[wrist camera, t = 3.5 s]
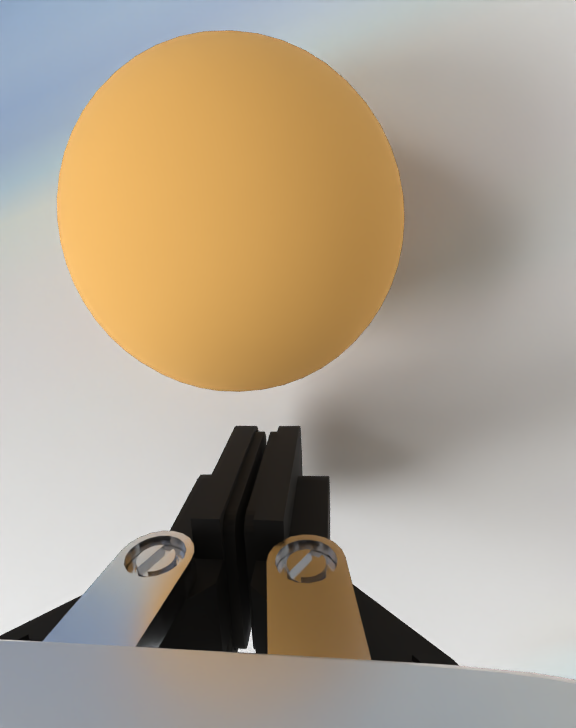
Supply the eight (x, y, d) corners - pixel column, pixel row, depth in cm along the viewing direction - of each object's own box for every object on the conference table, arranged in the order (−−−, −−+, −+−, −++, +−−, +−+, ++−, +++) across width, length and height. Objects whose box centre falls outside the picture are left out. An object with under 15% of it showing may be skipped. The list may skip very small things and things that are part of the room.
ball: (162, 349, 13) (19, 454, 7) (126, 104, 11) (-106, -29, 5) (385, 341, 12) (433, 448, 6) (384, 78, 10) (448, -109, 4)
